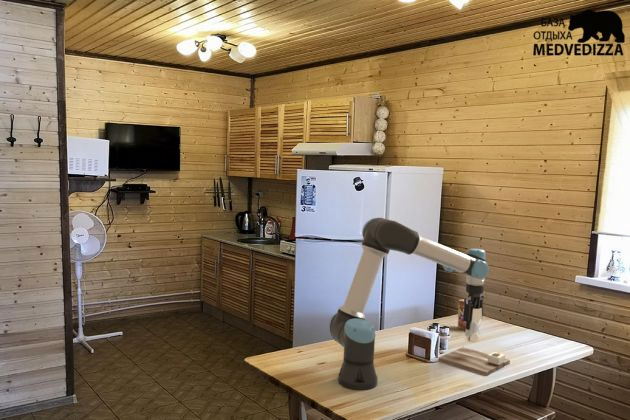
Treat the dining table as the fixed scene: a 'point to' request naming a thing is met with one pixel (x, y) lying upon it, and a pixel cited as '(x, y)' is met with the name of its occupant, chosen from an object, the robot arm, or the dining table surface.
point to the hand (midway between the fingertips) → (472, 334)
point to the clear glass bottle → (475, 325)
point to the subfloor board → (472, 361)
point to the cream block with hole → (496, 358)
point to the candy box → (461, 315)
